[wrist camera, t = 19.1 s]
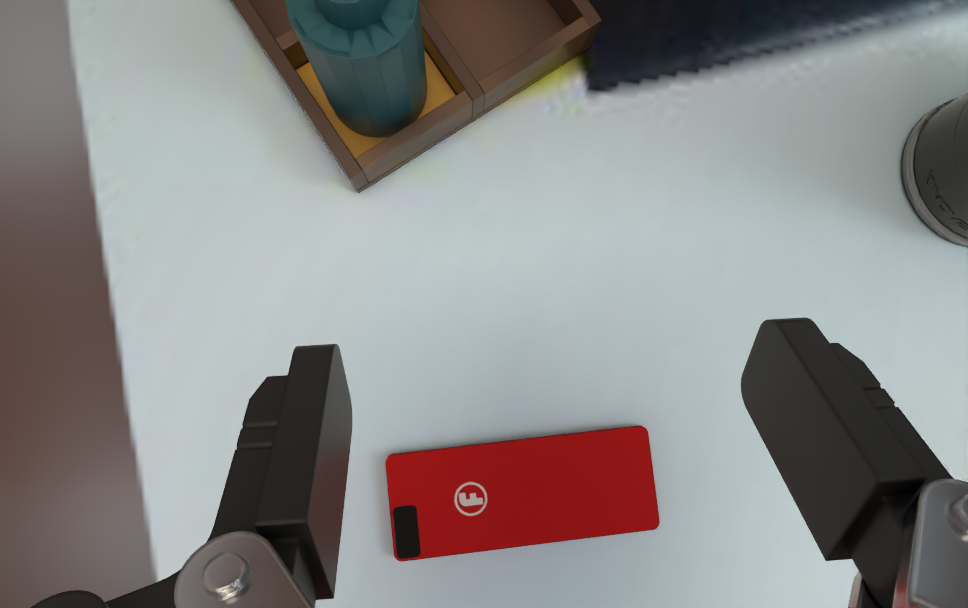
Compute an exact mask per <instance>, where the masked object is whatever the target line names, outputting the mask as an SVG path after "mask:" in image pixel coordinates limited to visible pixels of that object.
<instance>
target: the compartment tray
mask: <svg viewBox="0 0 968 608" xmlns="http://www.w3.org/2000/svg"><path fill="white" fill-rule="evenodd" d="M230 1H231V3H232V4H233V6H234V7H235V9H236V10H237V12H238V13H239V15H240V16H241V18H242V19H243V21H244V22H245V24H246V25H247V27H248V28H249V30H250V31H251V33H252V34H253V36H254V37H255V39H256V40H257V42H258V43H259V45H260V46H261V48H262V49H263V51H264V52H265V54H266V55H267V57H268V58H269V60H270V61H271V63H272V64H273V66H274V67H275V69H276V70H277V72H278V73H279V75H280V76H281V78H282V79H283V81H284V82H285V84H286V85H287V87H288V88H289V90H290V91H291V93H292V94H293V96H294V97H295V99H296V100H297V102H298V103H299V105H300V106H301V108H302V109H303V111H304V112H305V114H306V115H307V117H308V118H309V120H310V121H311V123H312V124H313V126H314V127H315V129H316V130H317V132H318V133H319V135H320V136H321V138H322V139H323V141H324V142H325V144H326V145H327V147H328V148H329V150H330V151H331V153H332V154H333V156H334V157H335V159H336V160H337V162H338V163H339V165H340V166H341V168H342V169H343V171H344V172H345V174H346V175H347V177H348V178H349V180H350V181H351V183H352V184H353V186H354V187H355V189H356V191H357V192H358V193H360V192H361V191H363V190H364V189H366V188H368V187H369V186H371V185H372V184H374V183H376V182H377V181H379V180H380V179H382V178H383V177H385V176H387V175H388V174H390V173H391V172H393V171H395V170H396V169H398V168H399V167H401V166H403V165H404V164H406V163H407V162H409V161H410V160H412V159H414V158H415V157H417V156H418V155H420V154H422V153H423V152H425V151H426V150H428V149H430V148H431V147H433V146H434V145H436V144H437V143H439V142H441V141H442V140H444V139H445V138H447V137H449V136H450V135H452V134H453V133H455V132H457V131H458V130H460V129H461V128H463V127H464V126H466V125H468V124H469V123H471V122H472V121H474V120H476V119H477V118H479V117H480V116H482V115H484V114H485V113H487V112H488V111H490V110H491V109H493V108H495V107H496V106H498V105H499V104H501V103H503V102H504V101H506V100H507V99H509V98H511V97H512V96H514V95H515V94H517V93H518V92H520V91H522V90H523V89H525V88H526V87H528V86H530V85H531V84H533V83H534V82H536V81H538V80H539V79H541V78H542V77H544V76H545V75H547V74H549V73H550V72H552V71H553V70H555V69H557V68H558V67H560V66H561V65H563V64H565V63H566V62H568V61H569V60H571V59H572V58H574V57H576V56H577V55H579V54H580V53H582V52H584V51H585V50H587V49H588V48H590V46H591V44H592V42H593V40H594V37H595V35H596V33H597V30H598V28H599V26H600V23H601V21H602V19H601V18H600V16H599V15H598V14H597V12H596V11H595V9H594V8H593V6H592V5H591V4H590V2H589V1H588V0H419V2H420V13H421V24H422V35H423V45H424V56H425V67H426V77H427V96H426V102H425V105H424V108H423V110H422V112H421V114H420V116H419V117H418V118H417V120H416V121H414V122H412V123H411V124H409V125H408V126H406V127H404V128H403V129H401V130H400V131H398V132H396V133H395V134H393V135H392V136H388V137H368V136H364V135H361V134H359V133H356V132H354V131H352V130H351V129H349V128H348V127H347V126H345V125H344V124H343V123H342V122H341V121H340V119H339V118H338V117H337V116H336V114H335V112H334V110H333V109H332V107H331V106H330V104H329V102H328V100H327V98H326V95H325V93H324V91H323V89H322V87H321V85H320V83H319V81H318V79H317V77H316V75H315V72H314V70H313V68H312V66H311V64H310V62H309V60H308V58H307V56H306V54H305V52H304V49H303V47H302V45H301V43H300V41H299V39H298V37H297V35H296V33H295V31H294V29H293V27H292V24H291V22H290V20H289V18H288V12H287V7H286V1H285V0H230Z"/></svg>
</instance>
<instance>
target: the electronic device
mask: <svg viewBox="0 0 968 608" xmlns="http://www.w3.org/2000/svg"><path fill="white" fill-rule="evenodd" d="M386 473H387V484H388V494H389V505H390V516H391V527H392V538H393V549H394V556H395V558H396V559H397V560H398V561H409V560H417V559H425V558H433V557H440V556H448V555H456V554H464V553H472V552H480V551H488V550H496V549H504V548H512V547H520V546H528V545H536V544H543V543H551V542H559V541H567V540H575V539H583V538H591V537H599V536H607V535H615V534H623V533H631V532H639V531H646V530H654V529H656V528H657V527H658V526H659V514H658V506H657V498H656V491H655V483H654V475H653V467H652V460H651V452H650V444H649V436H648V431H647V429H646V428H644V427H643V426H631V427H622V428H613V429H605V430H596V431H587V432H579V433H570V434H561V435H553V436H544V437H536V438H527V439H518V440H510V441H501V442H492V443H484V444H475V445H467V446H458V447H449V448H441V449H432V450H423V451H415V452H406V453H397V454H391V455H390V456H388V458H387V459H386Z"/></svg>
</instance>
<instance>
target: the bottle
mask: <svg viewBox="0 0 968 608" xmlns="http://www.w3.org/2000/svg"><path fill="white" fill-rule="evenodd" d="M285 1H286V7H287V12H288V18H289V20H290V22H291V24H292V27H293V29H294V31H295V33H296V35H297V37H298V39H299V41H300V43H301V45H302V47H303V49H304V52H305V54H306V56H307V58H308V60H309V62H310V64H311V66H312V68H313V70H314V72H315V75H316V77H317V79H318V81H319V83H320V85H321V87H322V89H323V91H324V93H325V95H326V98H327V100H328V102H329V104H330V106H331V107H332V109H333V110H334V112H335V114H336V116H337V117H338V118H339V119H340V121H341V122H342V123H343V124H344V125H345V126H347V127H348V128H349V129H351V130H352V131H354V132H356V133H359V134H361V135H364V136H368V137H388V136H392V135H393V134H395V133H396V132H398V131H400V130H401V129H403V128H404V127H406V126H408V125H409V124H411V123H412V122H414V121H416V120H417V118H418V117H419V116H420V114H421V112H422V110H423V108H424V105H425V102H426V96H427V77H426V67H425V56H424V45H423V35H422V24H421V13H420V2H419V0H285Z"/></svg>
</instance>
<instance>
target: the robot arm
mask: <svg viewBox="0 0 968 608" xmlns="http://www.w3.org/2000/svg"><path fill="white" fill-rule="evenodd" d="M902 171H903V180H904V184H905V188H906V192H907V194H908V197H909V199H910V201H911V203H912V205H913V207H914V209H915V210H916V212H917V213H918V215H919V216H920V217H921V218H922V220H923V221H924V222H925V223H926V224H927V225H928V226H929V227H930V228H932V229H933V230H934V231H935V232H937V233H938V234H939V235H941V236H943V237H944V238H946V239H948V240H950V241H952V242H955V243H957V244H960V245H964V246H968V93H967V94H965V95H963V96H961V97H958V98H955V99H952V100H950V101H948V102H946V103H944V104H942V105H940V106H938V107H937V108H935V109H933V110H932V111H930V112H929V113H928V114H926V115H925V116H924V117H923V118H922V119H921V120H920V121H919V122H918V123H917V125H916V126H915V127H914V129H913V130H912V132H911V134H910V136H909V138H908V140H907V143H906V146H905V149H904V154H903V163H902ZM741 393H742V398H743V401H744V404H745V407H746V409H747V411H748V413H749V414H750V416H751V418H752V420H753V422H754V424H755V426H756V428H757V430H758V432H759V434H760V436H761V437H762V439H763V441H764V443H765V445H766V447H767V449H768V451H769V453H770V455H771V457H772V459H773V460H774V462H775V464H776V466H777V468H778V470H779V472H780V474H781V476H782V478H783V480H784V482H785V483H786V485H787V487H788V489H789V491H790V493H791V495H792V497H793V499H794V501H795V503H796V505H797V506H798V508H799V510H800V512H801V514H802V516H803V518H804V520H805V522H806V524H807V526H808V528H809V529H810V531H811V533H812V535H813V537H814V539H815V541H816V543H817V545H818V547H819V549H820V551H821V552H822V554H823V556H824V558H825V560H826V561H830V560H843V559H853V561H854V563H855V565H856V567H857V568H858V570H859V572H858V573H857V575H856V576H855V578H854V581H853V585H852V590H851V595H850V600H849V605H848V608H968V482H964V481H960V480H955V479H953V478H952V476H951V475H950V474H949V473H948V471H947V470H946V469H945V468H944V466H943V465H942V464H941V462H940V461H939V460H938V458H937V457H936V456H935V455H934V453H933V452H932V451H931V449H930V448H929V447H928V445H927V444H926V443H925V441H924V440H923V439H922V438H921V436H920V435H919V434H918V432H917V431H916V430H915V428H914V427H913V426H912V425H911V423H910V422H909V421H908V419H907V418H906V417H905V415H904V414H903V413H902V411H901V410H900V409H899V408H898V407H895V406H894V401H893V400H892V398H891V397H890V396H889V395H888V393H887V392H886V391H885V389H881V387H880V383H879V381H878V380H877V379H876V378H875V376H874V375H873V374H872V372H871V371H870V370H869V368H868V367H867V366H866V365H865V363H864V362H863V361H862V360H860V359H859V358H858V357H856V356H855V355H854V354H852V353H851V352H849V351H848V350H847V349H845V348H844V347H843V346H841V345H840V344H839V343H829V342H828V340H827V339H826V338H825V336H824V335H823V334H822V332H821V331H820V330H819V328H818V327H817V325H816V324H815V323H814V322H813V321H812V320H811V319H809V318H789V319H772V320H766V321H764V322H763V323H762V324H761V326H760V328H759V331H758V333H757V336H756V339H755V341H754V344H753V347H752V349H751V352H750V355H749V358H748V360H747V363H746V366H745V368H744V371H743V374H742V378H741ZM242 425H243V429H241V431H240V435H239V438H238V442H237V450H235V453H234V456H233V460H232V463H231V467H230V470H229V474H228V477H227V481H226V485H225V488H224V492H223V495H222V499H221V502H220V506H219V509H218V513H217V517H216V520H215V524H214V527H213V530H212V532H211V535H210V537H209V539H208V541H207V542H206V543H205V544H204V545H203V546H201V547H200V548H199V549H198V550H196V551H195V552H194V553H193V554H192V555H191V556H190V558H189V559H188V560H187V561H186V563H185V564H184V566H183V567H182V569H181V570H179V571H178V572H176V573H175V574H173V575H171V576H170V577H168V578H166V579H164V580H161V581H159V582H157V583H154V584H152V585H149V586H146V587H144V588H141V589H139V590H136V591H133V592H131V593H128V594H126V595H123V596H120V597H118V598H115V599H112V600H110V601H107V602H104V601H103V600H102V599H101V598H100V597H99V596H97V595H95V594H94V593H91V592H88V591H81V590H77V591H76V590H74V591H67V592H62V593H59V594H56V595H53V596H51V597H48V598H46V599H44V600H42V601H40V602H39V603H37V604H36V605H34V606H32V607H31V608H315V601H316V600H319V599H332V598H334V591H335V582H336V573H337V564H338V555H339V545H340V536H341V527H342V518H343V508H344V499H345V490H346V481H347V472H348V462H349V453H350V444H351V435H352V406H351V398H350V394H349V389H348V385H347V380H346V376H345V371H344V366H343V362H342V357H341V353H340V349H339V346H338V345H337V344H328V345H311V346H297V347H295V349H294V352H293V355H292V360H291V364H290V368H289V373H288V375H287V376H270V377H267V378H266V379H265V380H264V382H263V383H262V384H261V385H260V387H259V388H258V389H257V390H256V392H255V393H254V394H253V395H252V397H251V398H250V399H249V403H248V406H247V410H246V413H245V417H244V421H243V424H242Z"/></svg>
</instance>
